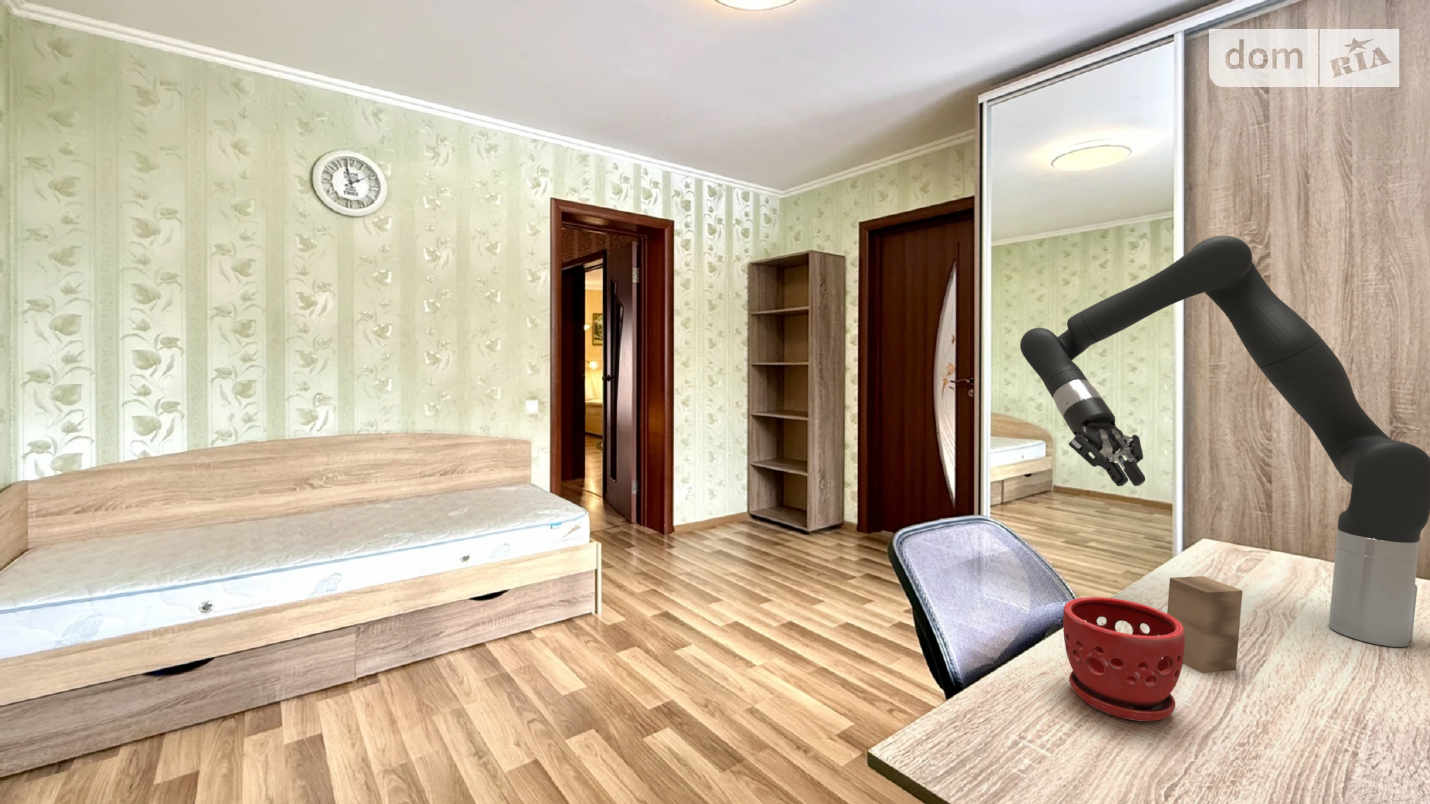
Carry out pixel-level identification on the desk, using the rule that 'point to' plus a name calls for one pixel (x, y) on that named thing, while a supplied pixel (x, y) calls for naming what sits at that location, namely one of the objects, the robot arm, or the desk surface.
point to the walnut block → (1207, 621)
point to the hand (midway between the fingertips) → (1131, 483)
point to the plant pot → (1123, 657)
